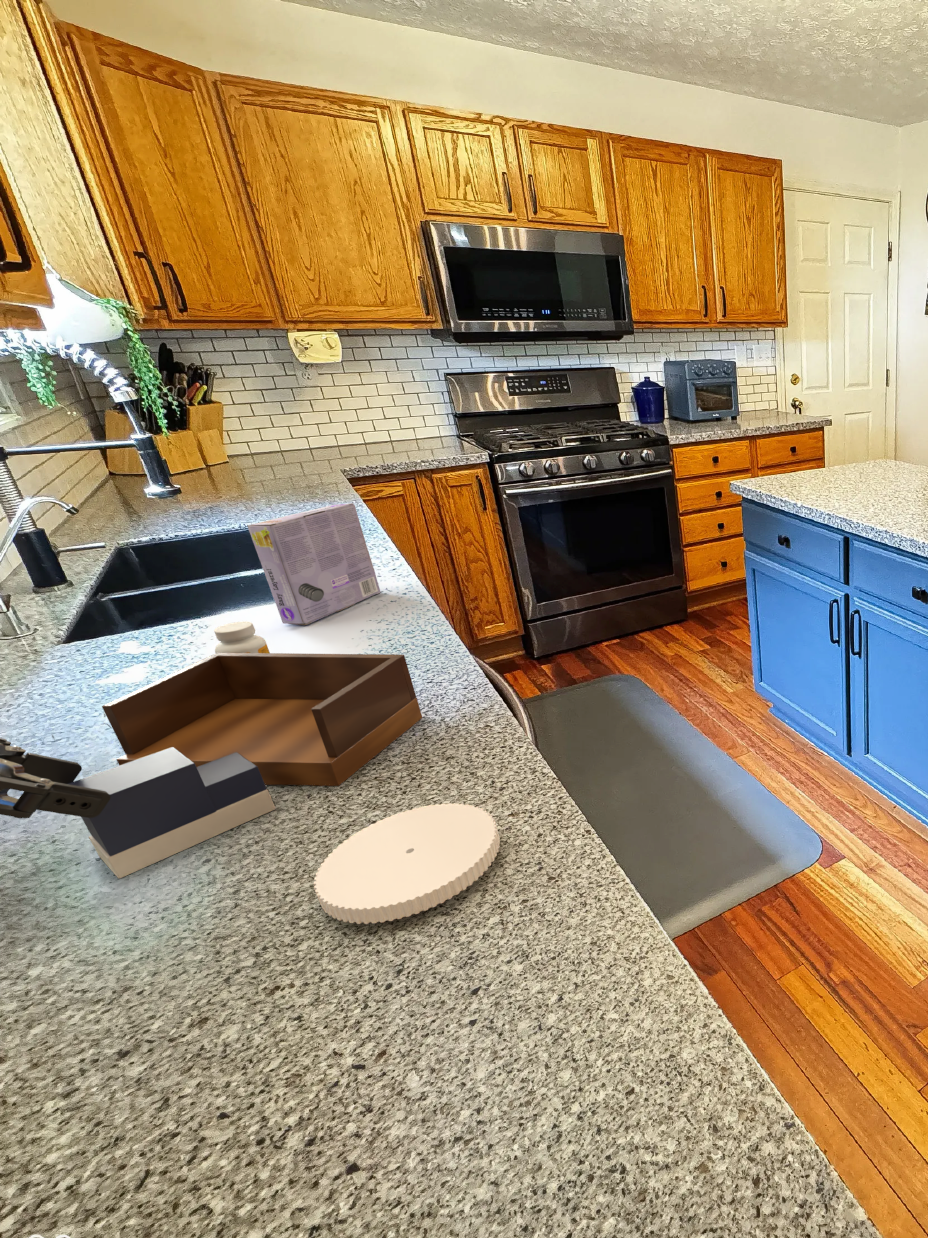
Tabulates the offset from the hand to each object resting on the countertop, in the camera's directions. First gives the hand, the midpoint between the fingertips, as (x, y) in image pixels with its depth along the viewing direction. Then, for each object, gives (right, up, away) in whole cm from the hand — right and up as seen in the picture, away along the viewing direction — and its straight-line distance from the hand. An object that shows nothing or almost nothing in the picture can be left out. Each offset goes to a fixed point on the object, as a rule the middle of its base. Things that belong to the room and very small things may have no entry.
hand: (89, 790), depth 62 cm
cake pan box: (-27, +19, +66) cm, 74 cm away
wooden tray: (0, 0, +21) cm, 21 cm away
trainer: (+2, -6, +7) cm, 9 cm away
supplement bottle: (-15, +6, +35) cm, 39 cm away
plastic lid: (+28, -8, +1) cm, 29 cm away
